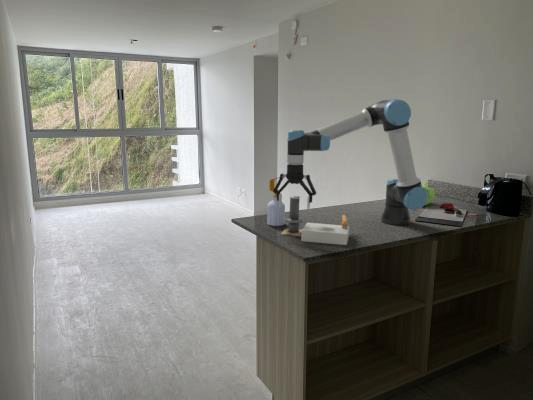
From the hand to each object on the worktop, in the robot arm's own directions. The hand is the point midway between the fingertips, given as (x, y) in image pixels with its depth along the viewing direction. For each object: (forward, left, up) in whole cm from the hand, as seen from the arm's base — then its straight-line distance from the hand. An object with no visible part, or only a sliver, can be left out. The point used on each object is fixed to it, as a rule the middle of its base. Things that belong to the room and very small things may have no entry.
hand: (294, 208), depth 194 cm
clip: (-23, -3, -5) cm, 24 cm away
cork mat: (0, 0, -12) cm, 12 cm away
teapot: (-63, -89, -12) cm, 110 cm away
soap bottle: (+12, -13, -12) cm, 21 cm away
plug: (0, 0, -11) cm, 11 cm away
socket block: (-16, +5, -12) cm, 21 cm away
